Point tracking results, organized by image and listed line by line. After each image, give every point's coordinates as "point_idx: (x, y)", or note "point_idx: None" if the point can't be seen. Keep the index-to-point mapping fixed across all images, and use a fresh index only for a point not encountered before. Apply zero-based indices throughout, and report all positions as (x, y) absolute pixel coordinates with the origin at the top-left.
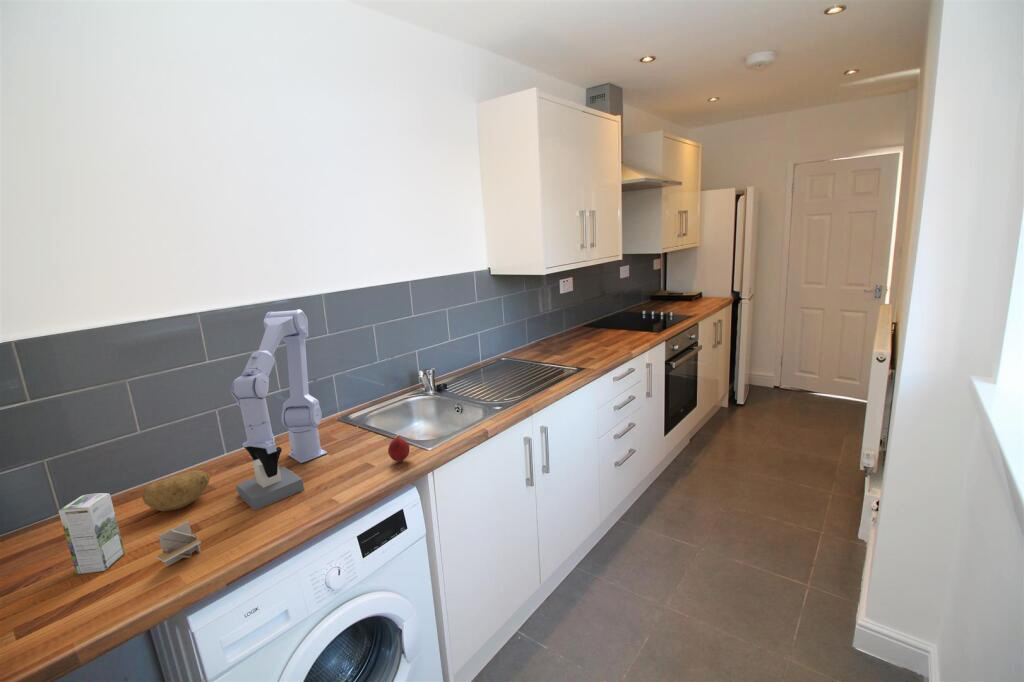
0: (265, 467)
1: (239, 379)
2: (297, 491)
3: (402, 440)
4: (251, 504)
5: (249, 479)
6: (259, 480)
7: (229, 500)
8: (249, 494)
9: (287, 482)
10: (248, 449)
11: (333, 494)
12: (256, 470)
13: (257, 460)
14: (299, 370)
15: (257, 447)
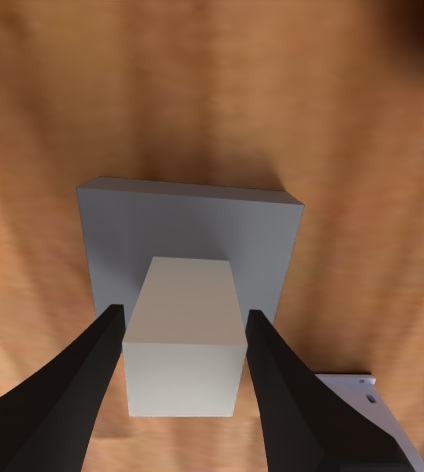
0: (60, 353)
1: None
2: None
3: None
4: (123, 181)
5: (290, 255)
6: (183, 272)
7: (279, 152)
8: (139, 199)
9: None
10: (312, 442)
11: (13, 347)
12: (197, 305)
13: (223, 362)
14: None
15: (288, 468)
